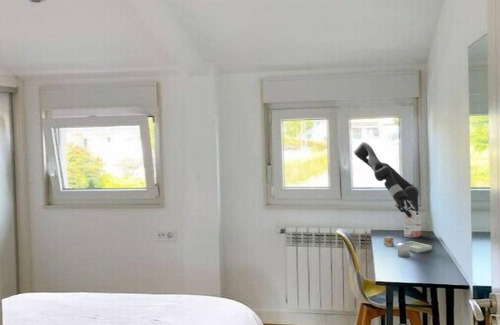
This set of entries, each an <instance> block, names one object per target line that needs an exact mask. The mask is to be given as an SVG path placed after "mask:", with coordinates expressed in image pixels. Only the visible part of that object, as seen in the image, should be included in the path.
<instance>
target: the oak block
mask: <svg viewBox="0 0 500 325" xmlns="http://www.w3.org/2000/svg"><path fill="white" fill-rule="evenodd" d="M394 240H395V238H394V236H392V237H391V236H384V237H383V246H385V247H394V246H395V245H394V244H395V243H394Z"/></svg>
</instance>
